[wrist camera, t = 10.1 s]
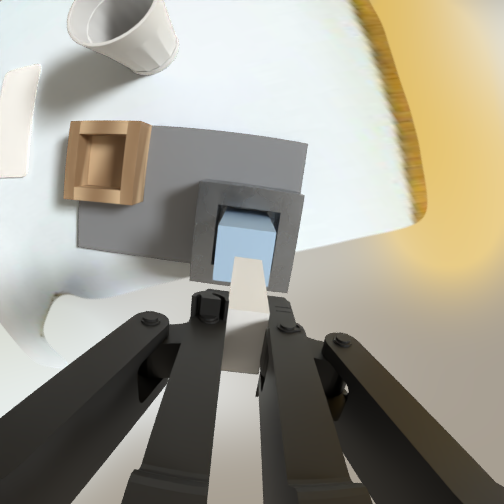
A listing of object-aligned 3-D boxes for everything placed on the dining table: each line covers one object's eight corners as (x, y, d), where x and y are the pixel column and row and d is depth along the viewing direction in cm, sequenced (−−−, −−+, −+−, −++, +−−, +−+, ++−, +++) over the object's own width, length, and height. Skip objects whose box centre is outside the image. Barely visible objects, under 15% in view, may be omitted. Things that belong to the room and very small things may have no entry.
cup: (142, 96, 29) (92, 65, 17) (106, 52, 27) (53, 15, 16) (201, 50, 28) (179, -3, 16) (161, 9, 26) (128, -46, 14)
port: (197, 264, 33) (189, 280, 28) (207, 178, 31) (199, 180, 26) (281, 275, 34) (287, 293, 29) (295, 191, 31) (304, 195, 26)
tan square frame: (79, 195, 31) (63, 198, 27) (86, 124, 29) (70, 121, 25) (143, 201, 31) (131, 205, 28) (152, 125, 29) (141, 121, 26)
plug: (222, 245, 32) (212, 280, 22) (227, 207, 31) (218, 225, 21) (261, 250, 32) (267, 286, 23) (267, 212, 31) (276, 232, 22)
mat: (81, 245, 33) (78, 246, 32) (89, 125, 29) (86, 124, 29) (285, 273, 34) (286, 275, 34) (306, 144, 31) (307, 143, 30)
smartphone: (41, 62, 27) (26, 176, 30) (44, 64, 27) (29, 176, 31) (5, 72, 26) (-9, 177, 30) (8, 73, 27) (-6, 177, 31)
